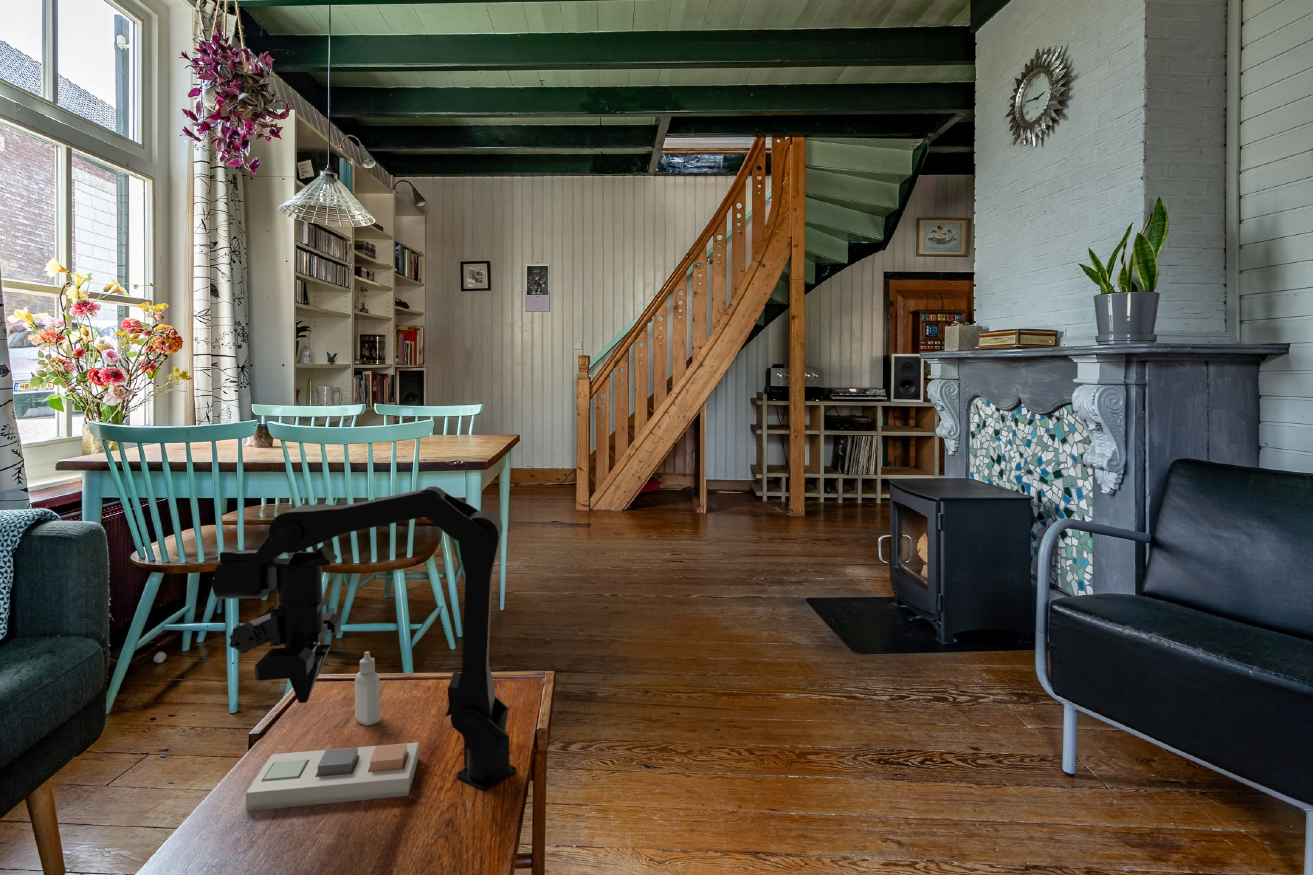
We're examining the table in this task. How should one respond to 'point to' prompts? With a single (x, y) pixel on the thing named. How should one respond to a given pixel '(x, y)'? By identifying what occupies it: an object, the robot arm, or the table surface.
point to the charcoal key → (338, 762)
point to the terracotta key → (388, 757)
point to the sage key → (286, 770)
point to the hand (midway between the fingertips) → (303, 701)
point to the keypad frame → (330, 782)
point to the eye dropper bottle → (367, 692)
